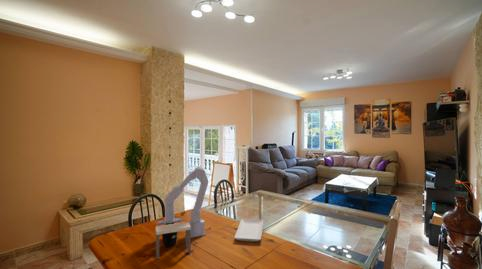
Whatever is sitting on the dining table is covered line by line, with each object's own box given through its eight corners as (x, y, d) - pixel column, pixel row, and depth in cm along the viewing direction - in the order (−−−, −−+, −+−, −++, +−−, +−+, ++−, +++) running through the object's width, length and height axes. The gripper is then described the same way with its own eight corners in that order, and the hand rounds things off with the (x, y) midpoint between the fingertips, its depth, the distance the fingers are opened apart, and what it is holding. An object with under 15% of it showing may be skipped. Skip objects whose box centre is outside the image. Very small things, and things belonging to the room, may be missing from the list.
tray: (233, 243, 138) (233, 237, 138) (241, 222, 170) (241, 218, 170) (261, 245, 136) (261, 239, 136) (264, 224, 167) (264, 219, 167)
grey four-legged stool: (188, 246, 134) (188, 221, 134) (190, 252, 127) (190, 226, 127) (155, 252, 127) (155, 226, 127) (156, 259, 120) (156, 232, 120)
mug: (172, 249, 130) (172, 232, 130) (158, 247, 132) (158, 230, 132) (183, 240, 142) (182, 223, 141) (170, 238, 144) (170, 222, 144)
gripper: (180, 210, 153) (180, 230, 153) (157, 212, 147) (157, 233, 147) (181, 213, 146) (181, 234, 146) (157, 216, 141) (158, 238, 141)
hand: (169, 234), depth 146 cm, fingers closed
